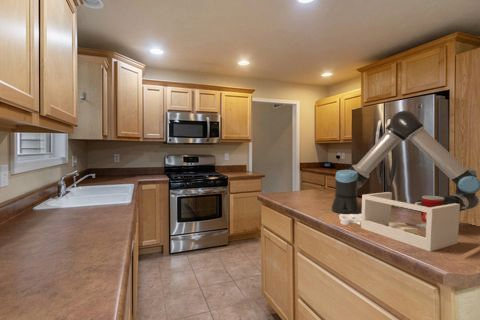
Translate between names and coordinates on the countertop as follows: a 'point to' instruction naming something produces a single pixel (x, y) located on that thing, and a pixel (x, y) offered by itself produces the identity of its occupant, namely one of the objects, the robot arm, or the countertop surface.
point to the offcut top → (403, 227)
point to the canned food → (430, 204)
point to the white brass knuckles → (350, 218)
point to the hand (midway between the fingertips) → (426, 207)
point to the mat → (422, 225)
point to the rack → (437, 232)
